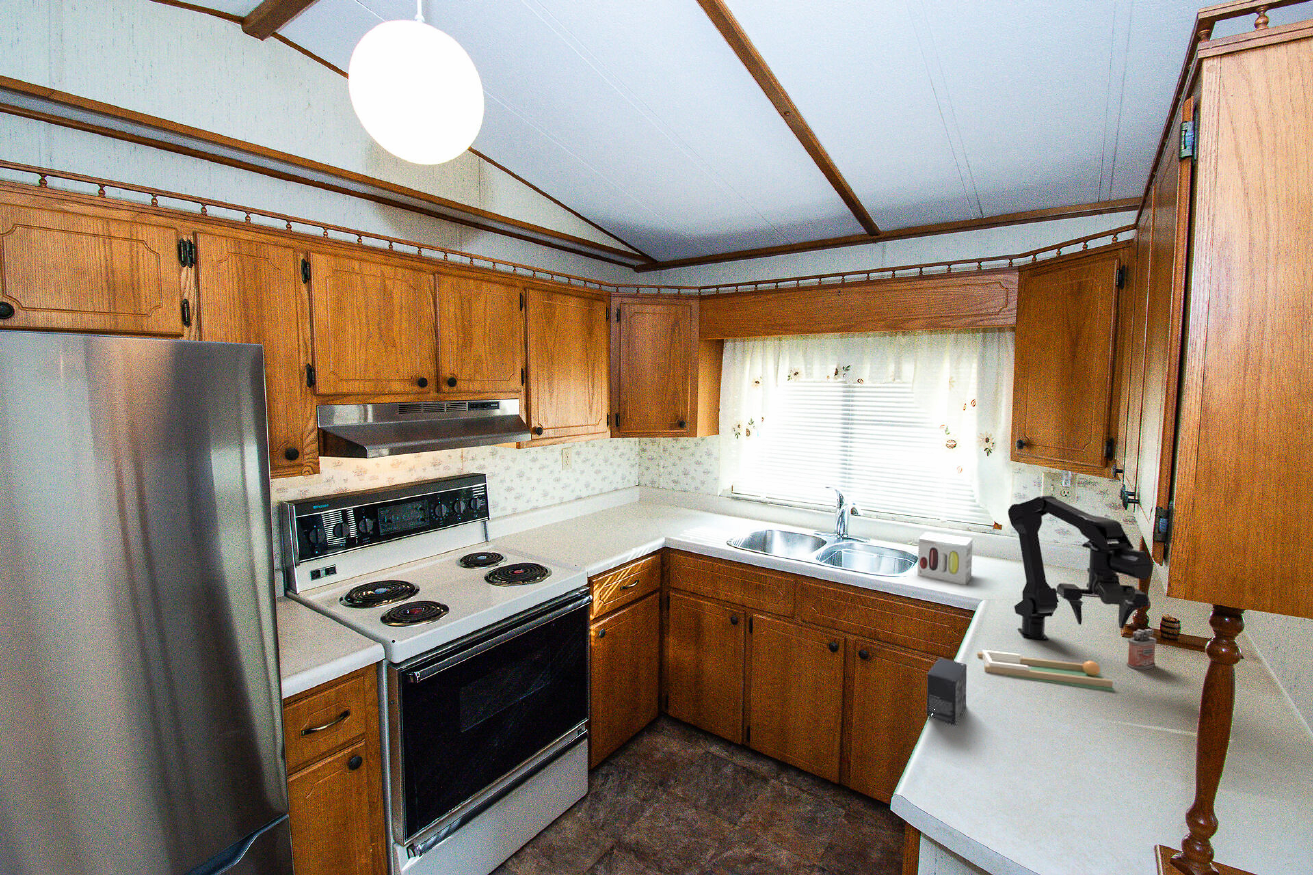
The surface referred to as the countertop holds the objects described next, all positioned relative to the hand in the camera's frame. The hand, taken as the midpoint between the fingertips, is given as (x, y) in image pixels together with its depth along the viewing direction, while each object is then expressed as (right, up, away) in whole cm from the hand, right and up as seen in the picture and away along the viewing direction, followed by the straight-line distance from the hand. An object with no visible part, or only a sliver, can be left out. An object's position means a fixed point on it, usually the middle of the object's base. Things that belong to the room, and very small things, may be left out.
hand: (1100, 626), depth 153 cm
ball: (-5, -10, -3) cm, 11 cm away
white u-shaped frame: (-24, -11, +1) cm, 26 cm away
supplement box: (-5, -7, +73) cm, 74 cm away
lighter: (+13, -12, +3) cm, 18 cm away
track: (-16, -12, -1) cm, 20 cm away
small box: (-50, -14, -19) cm, 55 cm away
